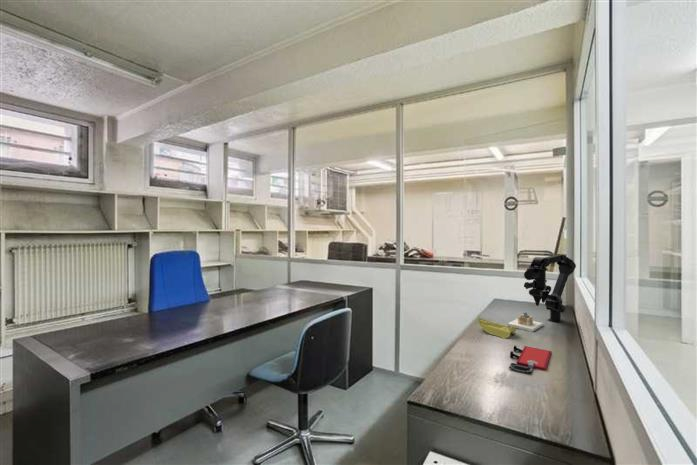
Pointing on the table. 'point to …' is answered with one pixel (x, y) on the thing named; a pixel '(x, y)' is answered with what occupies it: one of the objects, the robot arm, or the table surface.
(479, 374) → the table surface
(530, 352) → the red board with handle
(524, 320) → the collar
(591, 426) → the table surface
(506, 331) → the plastic component
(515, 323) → the post plate
